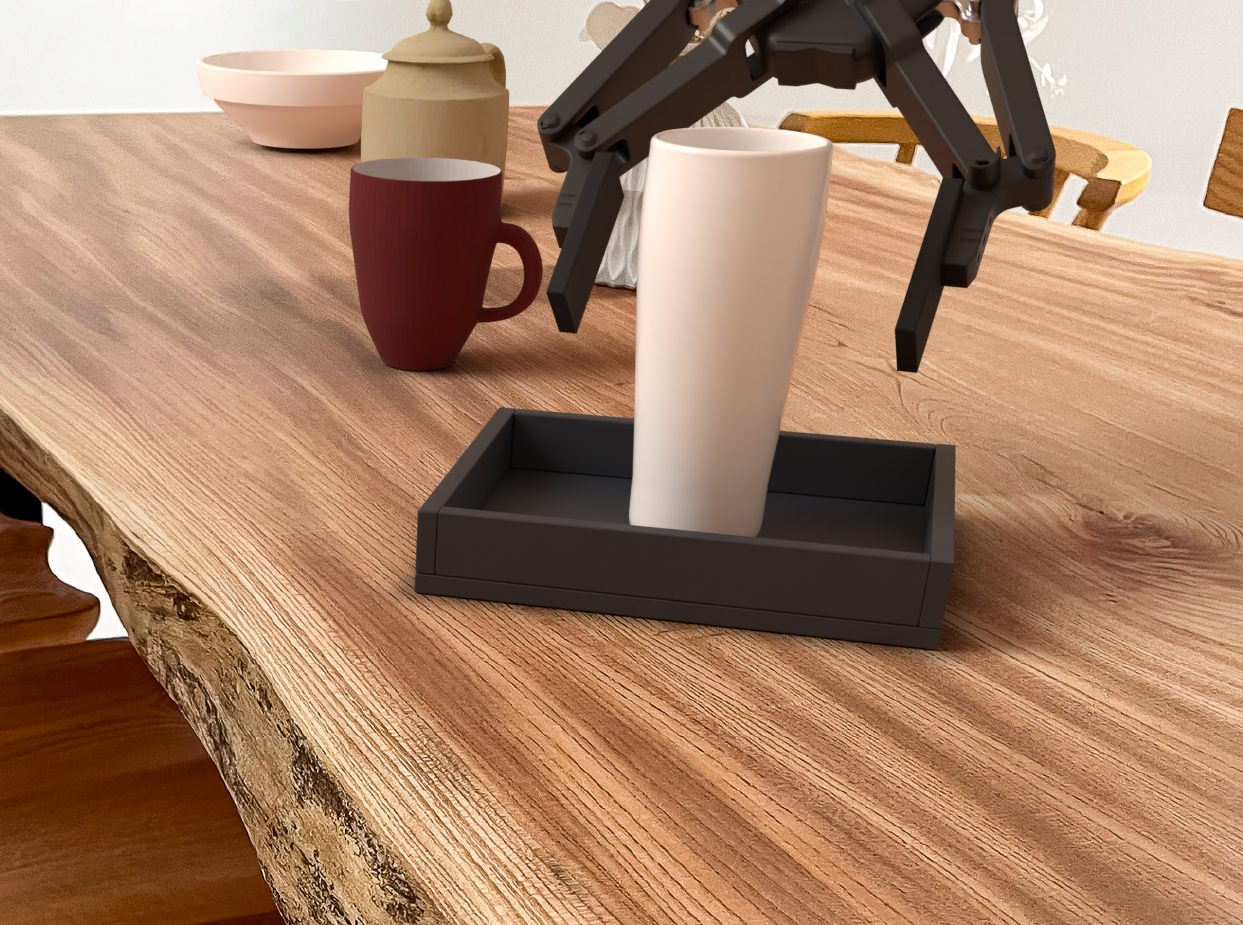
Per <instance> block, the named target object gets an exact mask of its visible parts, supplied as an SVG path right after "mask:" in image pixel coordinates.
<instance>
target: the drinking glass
mask: <svg viewBox="0 0 1243 925" xmlns="http://www.w3.org/2000/svg"><path fill="white" fill-rule="evenodd" d="M833 153H834V144H833V142H832V141H831V140H830V139H828V138H826V137H824V136H820V135H817V134H812V133H807V132H801V131H795V130H786V129H778V128H765V127H750V126H749V127H748V126H698V127H689V128H682V129H673V130H667V131H663V132H660V133H657V134H655V135H654V136H653V137H652V138H651V141H650V150H649V156H648V157H647V163H646V168H645V169H646V170H645V176H644V185H643V192H642V199H641V209H640V216H639V217H640V219H639V227H638V228H639V229H638V240H637V242H638V243H637V261H636V288H635V290H636V291H635V292H636V296H635V297H636V298H635V299H636V300H635V352H634V353H635V355H634V356H635V358H634V360H635V361H634V404H633V405H634V407H633V414H634V415H633V418H634V444H633V476H632V487H631V496H630V506H629V521H630V525H637V526H647V527H657V528H667V529H677V530H688V531H698V532H708V533H718V534H728V535H738V536H749V537H756V536H757V535H758V533H759V532H760V529H761V526H762V522H763V516H764V509H765V502H766V495H767V488H768V483H769V478H770V474H771V469H772V464H773V460H774V455H775V451H776V446H777V442H778V437H779V433H780V431H781V428H782V423H783V421H784V420H783V419H784V415H785V411H786V405H787V401H788V397H789V394H790V393H789V392H790V389H791V385H792V380H793V376H794V371H795V368H796V362H797V358H798V355H799V350H800V345H801V341H802V337H803V332H804V328H805V324H806V319H807V316H808V312H809V307H810V302H811V298H812V294H813V289H814V285H815V280H816V277H817V270H818V265H819V260H820V256H821V250H822V244H823V239H824V232H825V227H826V226H825V225H826V218H827V211H828V205H829V204H828V203H829V195H830V187H831V178H832V176H831V175H832V165H833V164H832V163H833Z"/></svg>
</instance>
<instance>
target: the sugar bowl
mask: <svg viewBox="0 0 1243 925" xmlns="http://www.w3.org/2000/svg"><path fill="white" fill-rule="evenodd" d="M453 12H454V11H453V6H452V2H451V1H450V0H430V1H429V3H428V5H427V8H426V12H425V16H426V19H427V21H428V22H429V28H428V29H427V30H425V31H422V32H419V33H416V34H414V35H411V36H408V37H406V38H403V39H401V40H399V41H398V42H397V43H395V45H394V46H393V47H392V48H391V50H390V51H387V52H385V53H384V54H383V55H382V56H381V57H382V59H385V60H388V62H387V66H386V69H385V71H384V73H383V74H382V76H381V77H380V78H379V79H378V80H377V81H376V82H375V83H374V84H371V85H369V86H367V87H365V89H364V94H363V111H362V133H361V137H360V163H362V162H366V161H372V160H380V159H391V158H448V159H461V160H470V161H477V162H482V163H487V164H491V165H494V166H497V167H499V168H500V169H501V170H502V200H501V209H502V208H503V199H504V186H505V176H506V175H505V174H506V163H507V150H508V136H509V118H510V90H509V89H508V88H507V87H506V86H507V69H506V61H505V56H504V54H503V52H502V51H501V49H500V47H498V46H497V45H495V44H493V43H491V42H481V43H480V42H479V41H477V39H474V38H473V37H472V38H471V37H469V36H466V35H464V34H461V33H458V32H455V31H453V30H451V29H450V28H449V27H448V26H449V24H450V22H451V20H452V18H453V15H454V13H453Z"/></svg>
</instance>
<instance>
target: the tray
mask: <svg viewBox="0 0 1243 925" xmlns="http://www.w3.org/2000/svg"><path fill="white" fill-rule="evenodd" d="M633 444H634V417H624V416H623V417H622V416H612V415H611V416H610V415H600V414H599V415H598V414H587V413H586V414H585V413H577V412H576V413H575V412H563V411H551V410H550V411H549V410H540V409H539V410H538V409H527V408H515V407H506V406H505V407H504V406H500V407H498V408H497V410H496V411H495V412H494V413H493V415H492V416H491V417H490V418H489V419H488V421H487V422H486V423H485V424H484V426H483V428H482V429H481V430H480V431H479V433H478V434H477V435H476V436H475V438H474V439H473V440H472V441H471V443H470V444H469V445H468V446H467V448H466V449H465V450H464V452H463V453H462V454H461V455H460V456H459V458H458V459H457V460H456V462H455V463H454V464H453V466H452V467H451V468H450V469H449V471H447V473H446V474H445V475H444V477H443V478H442V480H441V481H440V482H439V483H438V484H437V486H436V487H435V489H434V490H433V491H432V492H431V493H430V495H429V496H428V497H427V499H426V500H425V501H424V502H423V504H421V506H420V507H419V509H418V510H417V519H416V520H417V523H416V544H415V563H414V564H415V565H414V571H415V573H414V585H413V586H414V590H413V591H414V593H419V594H426V595H427V594H429V595H436V596H444V597H446V596H447V597H454V598H455V597H456V598H466V599H472V600H480V601H481V600H482V601H491V602H500V603H510V604H519V605H528V606H537V607H546V608H554V609H564V610H573V611H581V612H590V613H599V614H600V613H601V614H609V615H618V616H626V617H636V618H646V619H655V620H663V621H672V622H673V621H674V622H681V623H682V622H683V623H690V624H700V625H708V626H709V625H710V626H716V627H717V626H719V627H726V628H737V629H744V630H745V629H746V630H753V631H762V632H763V631H764V632H771V633H772V632H773V633H782V634H789V635H800V636H808V637H817V638H827V639H836V640H845V641H853V642H862V643H873V644H882V645H890V646H891V645H892V646H899V647H910V648H917V649H927V650H937V649H938V648H939V643H940V637H941V633H942V628H943V624H944V618H945V612H946V608H947V602H948V598H949V594H950V593H949V592H950V588H951V583H952V578H953V573H954V569H955V568H954V567H955V544H956V543H955V539H956V536H955V534H956V465H957V464H956V462H957V461H956V459H957V458H956V457H957V456H956V453H957V450H956V449H957V447H956V446H957V445H956V444H948V443H947V444H946V443H931V442H922V441H921V442H920V441H909V440H896V439H886V438H885V439H884V438H872V437H859V436H848V435H837V434H836V435H835V434H826V433H824V434H823V433H813V432H803V431H802V432H801V431H791V430H790V431H789V430H780V433H779V437H778V442H777V446H776V451H775V455H774V460H773V464H772V469H771V474H770V478H769V483H768V488H767V495H766V502H765V509H764V516H763V522H762V526H761V529H760V532H759V533H758V535H757V536H756V537H749V536H738V535H728V534H718V533H708V532H698V531H688V530H677V529H667V528H657V527H647V526H637V525H630V521H629V506H630V496H631V487H632V476H633Z"/></svg>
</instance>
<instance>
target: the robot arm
mask: <svg viewBox="0 0 1243 925" xmlns="http://www.w3.org/2000/svg"><path fill="white" fill-rule="evenodd" d="M1019 2H1020V0H649V1H648V2H646V4H644V6H642V8H641V9H640V10H639V11H638V12H637V13H636V14H635V15H634V17H632V18H631V20H630V21H629V22H628V23H627V24H626V25H625V26H624V27H623V28H622V29H621V30H620V31H619V32H618V34H617V35H615V37H614V38H612V40H610V42H609V43H608V44H607V45H606V46H604V48H603V49H602V50H601V51H600V52H599V53H598V54H597V56H596V57H595V58H594V59H592V61H591V62H590V63H589V64H588V65H587V66H586V67H585V68H584V69H583V71H581V73H580V74H579V75H578V76H576V78H574V80H573V81H572V82H571V83H570V84H569V85H568V86H567V87H566V88H565V90H563V91H562V92H561V94H559V96H558V97H557V98H556V99H555V100H554V101H553V102H552V103H551V104H550V105H549V107H547V108H546V110H544V112H543V113H542V114H540V116H539V118H538V119H537V121H536V122H537V123H536V126H537V132H538V135H539V138H540V141H541V142H540V143H541V145H542V148H543V151H544V155H545V158H546V161H547V166H548V168H549V170H550V171H551V172H553V173H555V174H564V173H565V176H564V179H563V182H562V185H561V188H560V191H559V194H558V196H557V199H556V201H555V202H556V203H555V205H554V207H553V210H552V213H551V223H552V224H551V226H552V229H553V233H554V236H555V239H556V243H557V246H558V248H559V249H560V252H559V254H558V257H557V260H556V263H555V266H554V268H553V271H552V274H551V277H550V280H549V283H548V286H547V288H546V291H545V293H546V296H547V300H548V302H549V306H550V308H551V312H552V314H553V317H554V320H555V323H556V328H557V330H558V333H564V334H565V333H566V334H573V335H574V334H575V335H577V334H578V331H579V328H580V325H581V322H582V320H583V317H584V314H585V311H586V308H587V306H588V302H589V299H590V298H591V294H592V292H593V288H594V285H595V282H596V279H597V276H598V274H599V271H600V269H601V265H602V262H603V259H604V257H605V254H606V251H607V249H608V245H609V242H610V240H611V236H612V234H613V231H614V228H615V225H616V223H617V219H618V216H619V214H620V210H621V207H622V205H623V202H624V199H625V194H624V190H623V186H622V181H621V177H622V176H623V175H625V174H626V173H627V172H629V171H630V170H632V169H633V168H635V167H636V166H637V165H639V164H640V163H641V162H643V161H644V160H646V159H648V156H649V150H650V141H651V138H652V137H653V136H654V135H655V134H657V133H660V132H663V131H667V130H673V129H682V128H692V126H693V125H695V124H696V123H698V122H699V121H701V120H702V119H703V118H704V117H706V116H707V115H709V114H710V113H712V112H713V111H715V110H716V109H717V108H719V107H720V106H721V105H723V104H724V103H726V102H727V101H728V100H730V99H733V98H736V99H743V98H746V97H747V96H749V95H750V94H752V93H753V92H754V91H755V90H757V89H758V88H760V87H761V86H763V85H764V84H766V83H767V82H768V81H770V80H771V79H773V78H774V79H777V85H778V86H781V87H797V88H798V87H802V86H809V85H815V84H820V85H822V86H826V87H828V88H832V89H835V90H849V91H855V90H856V89H857V85H858V84H861V83H865V82H868V81H870V80H874V82H875V83H876V85H877V86H878V88H879V89H880V91H881V92H882V94H883V96H884V97H885V99H886V100H887V102H888V103H889V105H890V106H891V107H892V108H893V109H895V108H897V109H898V110H899V112H900V115H902V117H903V119H904V120H905V122H906V123H907V124H908V126H909V128H910V129H911V131H912V132H913V134H914V136H915V137H916V138H917V140H918V142H919V144H920V145H921V146H922V149H924V151H925V152H926V154H927V156H928V157H929V159H930V160H931V162H932V164H933V165H934V167H935V168H936V169H937V171H938V173H939V174H940V176H941V177H942V179H941V181H940V185H939V188H938V191H937V195H936V197H935V201H934V203H933V207H932V209H931V213H930V216H929V220H928V222H927V225H926V228H925V232H924V235H923V238H922V240H921V245H920V248H919V251H918V255H917V257H916V260H915V263H914V267H913V270H912V273H911V277H910V279H909V283H908V285H907V289H906V291H905V295H904V298H903V302H902V305H901V308H900V310H899V314H898V316H897V321H896V324H895V327H894V341H895V342H894V343H895V360H896V372H903V373H911V374H912V373H913V374H918V372H919V369H920V365H921V362H922V358H923V356H924V353H925V349H926V347H927V343H928V339H929V336H930V333H931V330H932V327H933V325H934V324H933V323H934V320H935V318H936V314H937V310H938V307H939V304H940V302H941V298H942V295H943V292H944V289H945V287H950V288H961V289H968V288H969V287H970V286H971V285H972V283H973V282H974V281H975V280H976V278H977V277H978V272H979V270H980V267H981V263H982V260H983V257H984V253H985V250H986V247H987V244H988V240H989V237H990V234H991V231H992V228H993V225H994V222H995V221H996V219H997V218H998V217H999V215H1001V214H1002V213H1004V212H1006V211H1008V210H1012V209H1015V208H1022V209H1024V210H1025V211H1026V212H1031V213H1036V212H1041V211H1043V210H1045V209H1047V208H1048V207H1049V206H1050V205H1051V204H1052V202H1053V200H1054V192H1055V191H1054V190H1055V179H1056V178H1055V176H1056V164H1057V163H1056V162H1057V160H1056V158H1057V150H1056V147H1055V143H1054V140H1053V137H1052V133H1051V130H1050V127H1049V123H1048V120H1047V117H1046V113H1045V111H1044V107H1043V103H1042V100H1041V96H1040V93H1039V89H1038V86H1037V83H1036V80H1035V76H1034V72H1033V69H1032V66H1031V61H1030V59H1029V55H1028V52H1027V49H1026V45H1025V41H1024V38H1023V34H1022V31H1021V28H1020V25H1019V21H1018V20H1019V4H1020V3H1019ZM730 8H733V9H732V10H731V11H729V12H728V13H726V14H725V15H724V16H722V17H721V18H720V19H718V20H717V21H716V23H715V24H714V25H713V28H712V30H711V32H710V33H709V34H710V35H709V36H708V37H707V38H706V39H704V40H703V41H701V42H700V43H699V44H698V45H696V46H694V47H693V48H692V49H690V50H689V51H688V52H687V53H685V54H684V55H682V56H681V57H680V58H678V57H679V56H680V55H681V53H682V52H683V51H684V50H685V49H686V48H687V46H688V45H689V44H690V42H691V41H692V39H693V38H694V37H695V34H696V32H697V31H698V32H705V31H707V30H708V29H709V28H710V27H711V21H712V19H713V18H714V17H715V16H716V15H717V14H718V13H719V12H721V11H722V10H725V9H730ZM946 18H950V19H953V20H955V21H957V22H958V24H959V28H960V32H961V34H962V36H964V37H965V38H968V43H969V44H970V45H972V46H977V45H980V47H979V50H980V51H979V53H980V65H981V71H982V75H983V78H984V83H985V86H986V90H987V93H988V96H989V100H990V103H991V106H992V110H993V113H994V118H995V121H996V124H997V128H998V132H999V135H1000V138H1001V142H1002V146H1003V149H1004V152H1005V158H1004V157H1003V158H1002V149H1001V146H1000V145H998V146H996V152H995V151H994V150H993V148H992V146H991V145H990V143H989V142H988V140H987V139H986V137H985V136H984V134H983V133H982V131H981V130H980V128H979V127H978V125H977V124H976V122H975V120H974V119H973V118H972V116H971V115H970V113H969V112H968V111H967V109H966V107H965V106H964V104H963V103H962V101H961V100H960V98H959V97H958V95H957V94H956V93H955V91H954V89H953V88H952V86H951V85H950V84H949V81H948V80H947V79H946V77H945V76H944V74H943V73H942V72H941V70H940V68H939V66H938V65H937V63H936V62H935V61H934V59H933V58H932V56H931V55H930V53H929V52H928V50H927V49H926V47H925V44H924V39H925V38H926V37H928V36H929V35H930V34H932V32H933V31H935V30H936V29H938V27H939V26H940V25H941V24H942V23H943V22H944V20H945V19H946ZM748 42H749V44H750V46H751V48H752V51H753V52H752V53H751V54H749V55H748V54H747V43H748ZM677 58H678V59H677ZM676 59H677V60H676Z"/></svg>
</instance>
